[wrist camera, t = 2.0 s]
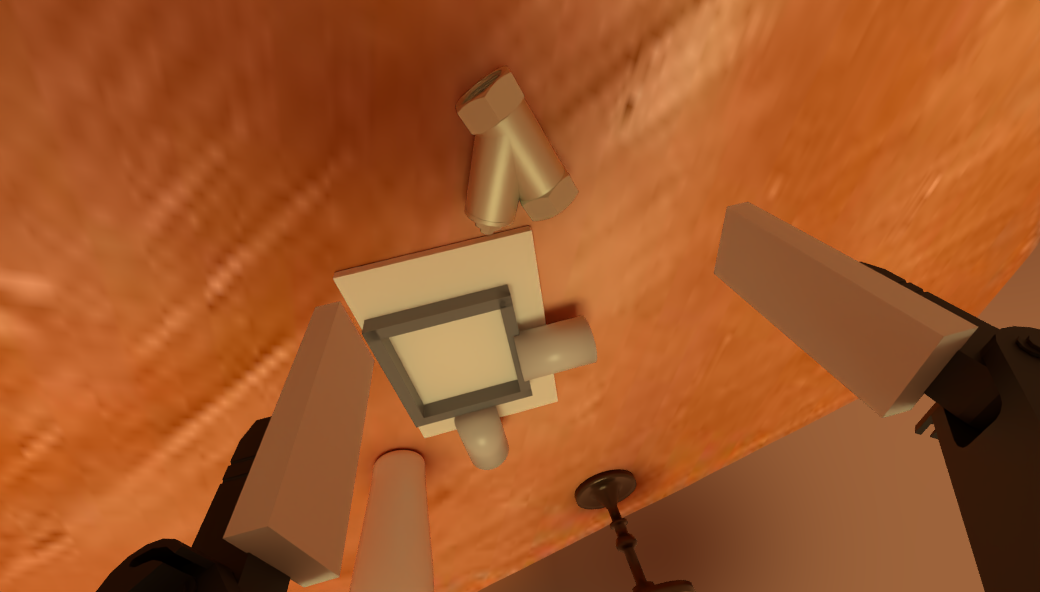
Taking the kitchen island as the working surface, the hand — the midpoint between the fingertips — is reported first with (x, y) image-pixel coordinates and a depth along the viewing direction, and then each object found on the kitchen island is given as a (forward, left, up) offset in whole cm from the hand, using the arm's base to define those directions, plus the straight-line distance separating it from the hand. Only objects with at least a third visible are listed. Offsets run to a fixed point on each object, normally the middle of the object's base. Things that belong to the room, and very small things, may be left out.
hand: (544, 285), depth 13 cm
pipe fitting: (0, 0, -14) cm, 14 cm away
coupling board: (+16, -4, -14) cm, 21 cm away
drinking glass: (+29, -16, -14) cm, 36 cm away
